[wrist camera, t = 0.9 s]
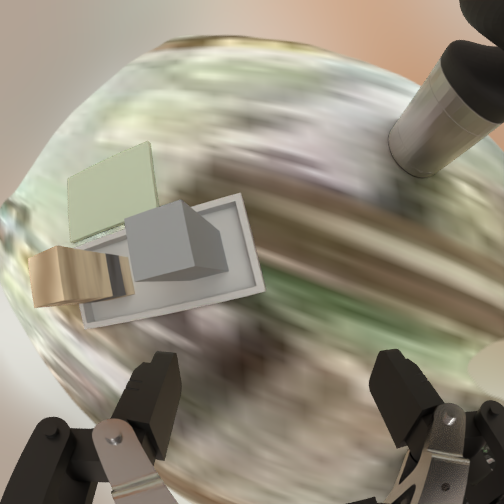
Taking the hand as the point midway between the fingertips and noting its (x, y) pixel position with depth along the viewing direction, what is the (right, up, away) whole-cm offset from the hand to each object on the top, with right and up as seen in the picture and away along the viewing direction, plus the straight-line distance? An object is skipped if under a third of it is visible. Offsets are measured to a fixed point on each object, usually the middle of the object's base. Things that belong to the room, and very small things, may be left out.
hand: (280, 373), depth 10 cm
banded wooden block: (-19, +1, +24) cm, 31 cm away
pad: (-22, +13, +27) cm, 37 cm away
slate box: (-7, +4, +23) cm, 25 cm away
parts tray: (-13, +2, +25) cm, 28 cm away
